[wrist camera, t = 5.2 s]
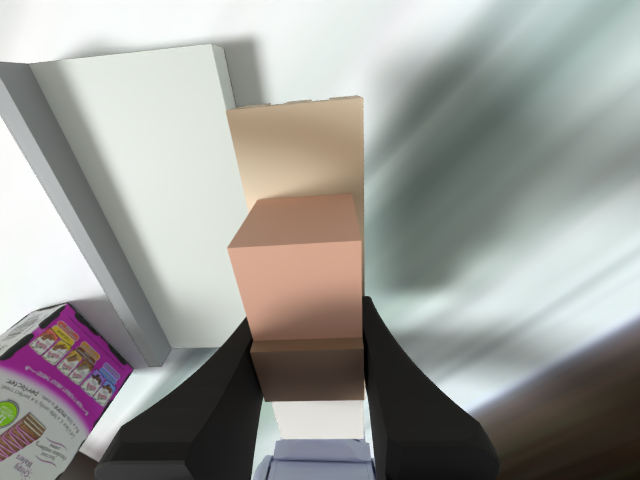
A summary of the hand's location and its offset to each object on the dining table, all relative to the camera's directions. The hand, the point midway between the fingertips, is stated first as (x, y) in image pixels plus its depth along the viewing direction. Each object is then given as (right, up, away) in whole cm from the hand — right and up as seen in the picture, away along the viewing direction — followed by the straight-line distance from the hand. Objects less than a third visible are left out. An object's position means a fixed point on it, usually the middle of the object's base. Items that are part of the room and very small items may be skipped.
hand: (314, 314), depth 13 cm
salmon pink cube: (0, +4, -1) cm, 4 cm away
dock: (-11, +4, +10) cm, 15 cm away
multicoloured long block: (0, +2, +3) cm, 4 cm away
